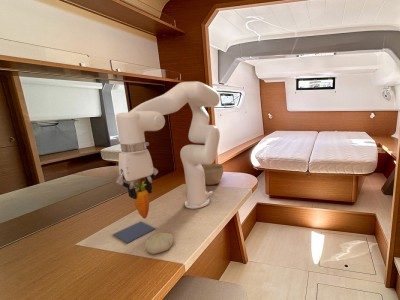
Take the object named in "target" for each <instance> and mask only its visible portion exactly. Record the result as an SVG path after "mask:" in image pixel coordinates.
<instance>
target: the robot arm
mask: <svg viewBox="0 0 400 300" xmlns="http://www.w3.org/2000/svg"><path fill="white" fill-rule="evenodd" d="M220 101H221V98H220V95H219V93H218V91H217V90H216V89H214V88H213V87H211V86H210V85H208V84H206V83H204V82H201V81H195V80H194V81H182V82H179V83H177V84H176V85H175V86H173V87H172V88H170V89H169V90H168V91H166V92H165V93H163V94H161V95H159V96H156V97H154V98H151V99H149V100H146V101H144V102H142V103H139V105H137V106H135V107H133V108H132V109H131V110H130V111H128V112H119V113H117V114H116V116H115V120H116V126H117V132H118V138H119V144H120V150H121V152H119V153H118V177H117V179H116V181H115V184H117V185H120V186H122V187H124V188H126V189H127V192H128V193H127V194H128V197H129V198H131V199H133V200H134V199H136V198H137V197H136V191H137V190H136V188H135V187H134V184H135V181H136V180H140V179H143V180H144V181H145V182H144V184H146V186H145V187H144V190H147V191H148V194H152V192H153V191H152V190H153V186H152V185H153V180H154V179H155V177H156V175H157V174H158V173H159V170H158V169H157V168H155V167H154V164H153V160H152V156H151V153H150V151H149V149H147V147H148V146H150V142H148V141H146V137H145V132H158V131H160V130H161V129H163V128H164V126H165V124H166V119H165V115H170V114H173V113H176V112H178V111H179V110H180V109H182V108H183V107H184V106H185V105H186V104H188V105H189V107H190V109H191V112H192V119H191V123H190V125H189V126H190V127H189V130H188V140H189V141H190V142H191V143H194V144H186V145H184V146H182V148H181V149H180V152H179V156H180V160H181V163H182V166H183V171H184V182H185V190H186V201H185V202H184V207H185V208H186V209H190V210H191V209H193V210H195V209H201V208H204V207H206V206H207V205H209V204H210V203H211V201H210V198H209V196H212V195H214V191H213V190H211V191H208V190H206V189H207V188H206V184H205V176H204V169H203V167H202V166H203V165H209V164H214V162H215V160H216V158H217V153H218V149H219V144H220V137H221V134H220V133H221V132H220V130H219V128H218V126H216V125H213V124H210V115H209V113H208V111H207V110H206V108H214V107H217V106H219V104H220ZM123 180H125V182H124V181H123Z"/></svg>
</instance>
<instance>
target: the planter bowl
mask: <svg viewBox="0 0 400 300" xmlns="http://www.w3.org/2000/svg"><path fill="white" fill-rule="evenodd" d="M202 167H203V169H204V176H205V185H206V186H207V185H208V186H213V185H217V184H220V181H221V179H222V178H223V174H224V168H225V166H224V164H223V163H212V164H209V165H204V164H202Z"/></svg>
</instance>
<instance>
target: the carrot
mask: <svg viewBox="0 0 400 300" xmlns="http://www.w3.org/2000/svg"><path fill="white" fill-rule="evenodd" d="M144 183H145V180H142V182H141V185H140V183H138V182H134V184H135V187H136V190H135V191H136V197H137V198H136V199H133V200H134V204H135V208H136V210H137V213H138V214H139V216H140V217H141V218H142V219H144V220H145V219H147V218H148V215H149V210H150V196H149V194H150V193H148V191H147V190H145V186H146V184H144Z"/></svg>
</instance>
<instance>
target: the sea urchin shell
mask: <svg viewBox="0 0 400 300" xmlns="http://www.w3.org/2000/svg"><path fill="white" fill-rule="evenodd" d="M173 243H174V237H173V234H171V233H170V232H169V233H168V232H157V233H154V234H153V235H151V236H150V237H149V238H147V239H146V241H145V244H144V245H145V250H146V251H147V252H148V253H150V254H152V255H153V254H154V255H156V254H161V253H163V252H166V251H168V250H169V249H170V248H171V247H172V246H173Z"/></svg>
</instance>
